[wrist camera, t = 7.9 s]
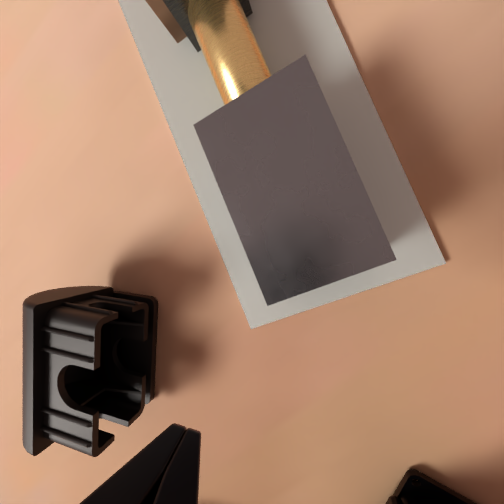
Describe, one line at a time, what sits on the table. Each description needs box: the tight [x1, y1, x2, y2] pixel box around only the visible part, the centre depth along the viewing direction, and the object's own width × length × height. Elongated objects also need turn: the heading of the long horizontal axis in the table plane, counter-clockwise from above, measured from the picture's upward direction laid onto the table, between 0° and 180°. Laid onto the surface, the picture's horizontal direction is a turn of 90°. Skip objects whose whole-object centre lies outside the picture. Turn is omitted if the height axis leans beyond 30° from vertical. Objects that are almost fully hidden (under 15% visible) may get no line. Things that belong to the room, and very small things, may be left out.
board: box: [118, 0, 446, 329], centre depth 18 cm, size 30×13×1 cm, turn 24°
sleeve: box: [193, 54, 397, 306], centre depth 15 cm, size 10×6×5 cm, turn 24°
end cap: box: [23, 286, 158, 457], centre depth 19 cm, size 10×7×7 cm
